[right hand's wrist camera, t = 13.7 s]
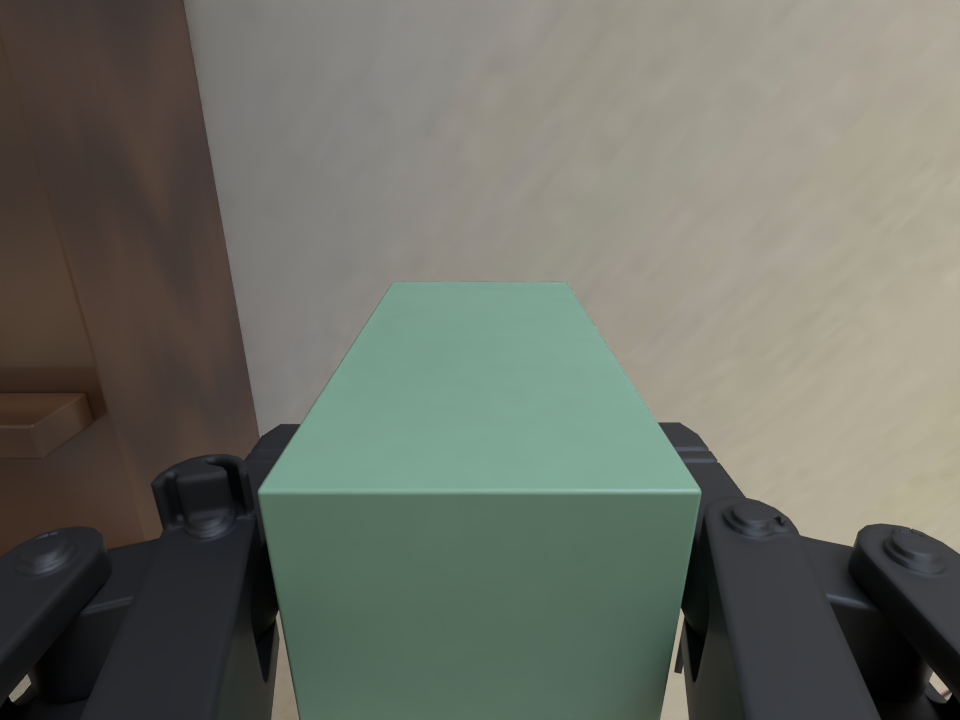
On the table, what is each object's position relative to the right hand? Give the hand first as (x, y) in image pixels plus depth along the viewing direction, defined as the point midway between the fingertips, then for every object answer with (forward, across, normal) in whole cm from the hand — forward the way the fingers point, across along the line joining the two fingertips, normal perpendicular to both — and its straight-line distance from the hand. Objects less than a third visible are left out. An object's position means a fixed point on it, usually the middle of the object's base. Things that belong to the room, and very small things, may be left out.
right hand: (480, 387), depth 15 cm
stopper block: (+2, 0, 0) cm, 2 cm away
